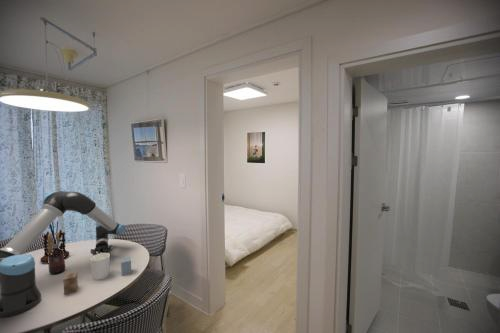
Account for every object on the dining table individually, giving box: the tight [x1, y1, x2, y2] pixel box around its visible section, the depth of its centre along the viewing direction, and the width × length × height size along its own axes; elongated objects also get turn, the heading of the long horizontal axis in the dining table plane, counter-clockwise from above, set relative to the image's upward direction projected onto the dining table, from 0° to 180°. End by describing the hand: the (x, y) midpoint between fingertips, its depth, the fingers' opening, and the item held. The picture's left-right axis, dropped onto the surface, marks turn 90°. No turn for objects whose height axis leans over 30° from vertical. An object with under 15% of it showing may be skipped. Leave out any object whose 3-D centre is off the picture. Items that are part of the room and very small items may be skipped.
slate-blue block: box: [120, 257, 132, 276], centre depth 133 cm, size 5×5×8 cm
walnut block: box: [63, 272, 78, 295], centre depth 116 cm, size 5×5×8 cm
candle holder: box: [89, 252, 111, 281], centre depth 129 cm, size 10×10×12 cm
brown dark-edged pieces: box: [40, 229, 70, 265], centre depth 149 cm, size 15×15×20 cm
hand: (101, 258), depth 138 cm, fingers closed
